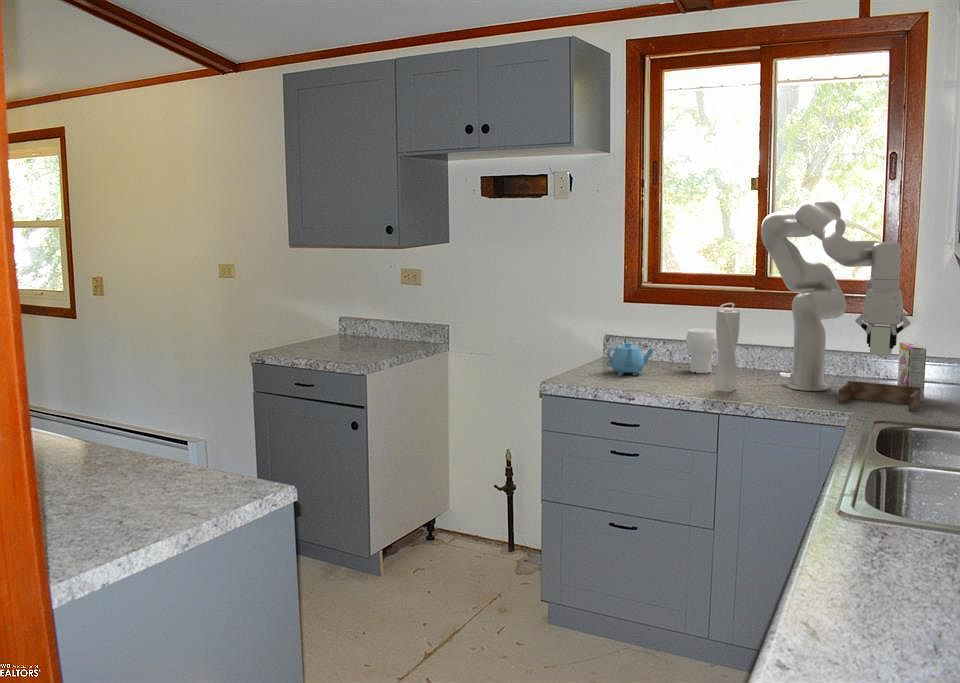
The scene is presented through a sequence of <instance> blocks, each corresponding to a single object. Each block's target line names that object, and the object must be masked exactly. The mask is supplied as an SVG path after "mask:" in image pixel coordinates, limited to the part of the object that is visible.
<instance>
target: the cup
mask: <svg viewBox="0 0 960 683" xmlns="http://www.w3.org/2000/svg"><path fill="white" fill-rule="evenodd" d="M685 340H686V341H685V342H686V346H687V350H688V351H689V353H690V361H691V362H690V367H689V372H690V371H691V373H694V372H696V373H695V374H708V373H709V372H710V373H712V371H713V369H712V363H711V362H712V361H711V360H712V355H713V353H714V351H715V350H716V346H717V339H716V329H709V328H691V329H688V330H687V333H686V338H685ZM710 373H709V374H710Z"/></svg>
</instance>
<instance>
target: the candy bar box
mask: <svg viewBox="0 0 960 683" xmlns="http://www.w3.org/2000/svg"><path fill="white" fill-rule="evenodd" d="M926 356H927V348H926V347H924V346H922V345H920V344H918V343H916V342H905V341H903V342H899V343H898V366H897V368H898V370H897V385H901V386H912V387H921V393H920V403H921V402H923V403H924V400H925V399H924V398H925V382H926V381H925V380H926V378H925V377H926V363H927V362H926V359H927V357H926Z"/></svg>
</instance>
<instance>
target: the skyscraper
mask: <svg viewBox="0 0 960 683" xmlns="http://www.w3.org/2000/svg"><path fill="white" fill-rule="evenodd" d="M729 305H732V306H731V308H730V307H729V308H723V309H722V310H720V309H721V308H722V307H724V306H729ZM734 307H735V303H733V302H728V303H727V302H726V303H723V304H721V305H719V306H718V308H717V309H716V319H715V320H716V321H715V332H716V339H717V344H716V346H717V351H718V353H717V362H716V371H715V387H714V391H715V392H716V391H717V392H726V393H732V392H734V391H735V390H737V388H738V386H737V385H738V384H737V381H738V380H737V360H736V358H737V357H736V350H737V346H738V341H739V336H740V334H739V333H740V322H741V321H740V317H741V313H740V312H741V311H740V309H734Z"/></svg>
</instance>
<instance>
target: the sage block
mask: <svg viewBox="0 0 960 683" xmlns="http://www.w3.org/2000/svg"><path fill="white" fill-rule="evenodd" d="M891 333H892V331H891V327H890V325H879V324H875V325H873V326H872V327H871V340H870V347H869V354H870V355H880V356H882V355H883V356H890V355H891V354H892V353H893V349H890V335H891Z"/></svg>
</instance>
